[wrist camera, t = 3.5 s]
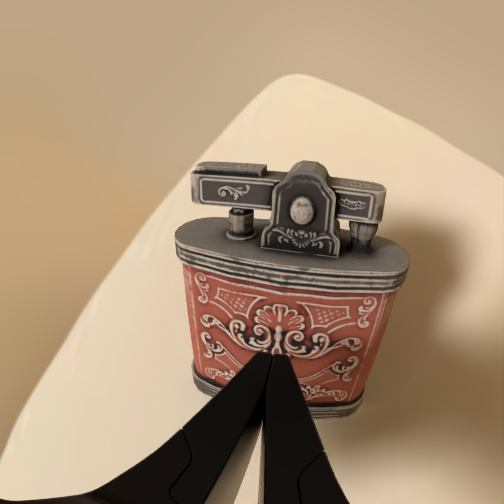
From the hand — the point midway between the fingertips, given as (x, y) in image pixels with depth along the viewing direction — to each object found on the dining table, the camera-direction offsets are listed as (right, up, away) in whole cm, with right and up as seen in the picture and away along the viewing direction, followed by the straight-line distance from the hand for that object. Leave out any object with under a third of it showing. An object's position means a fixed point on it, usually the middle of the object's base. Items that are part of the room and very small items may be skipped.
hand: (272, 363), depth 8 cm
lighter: (+1, -3, +6) cm, 7 cm away
